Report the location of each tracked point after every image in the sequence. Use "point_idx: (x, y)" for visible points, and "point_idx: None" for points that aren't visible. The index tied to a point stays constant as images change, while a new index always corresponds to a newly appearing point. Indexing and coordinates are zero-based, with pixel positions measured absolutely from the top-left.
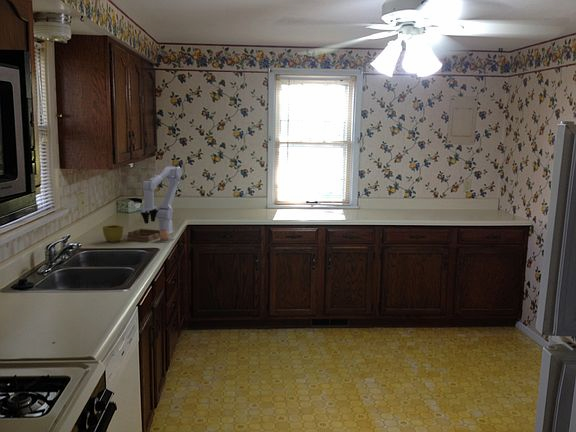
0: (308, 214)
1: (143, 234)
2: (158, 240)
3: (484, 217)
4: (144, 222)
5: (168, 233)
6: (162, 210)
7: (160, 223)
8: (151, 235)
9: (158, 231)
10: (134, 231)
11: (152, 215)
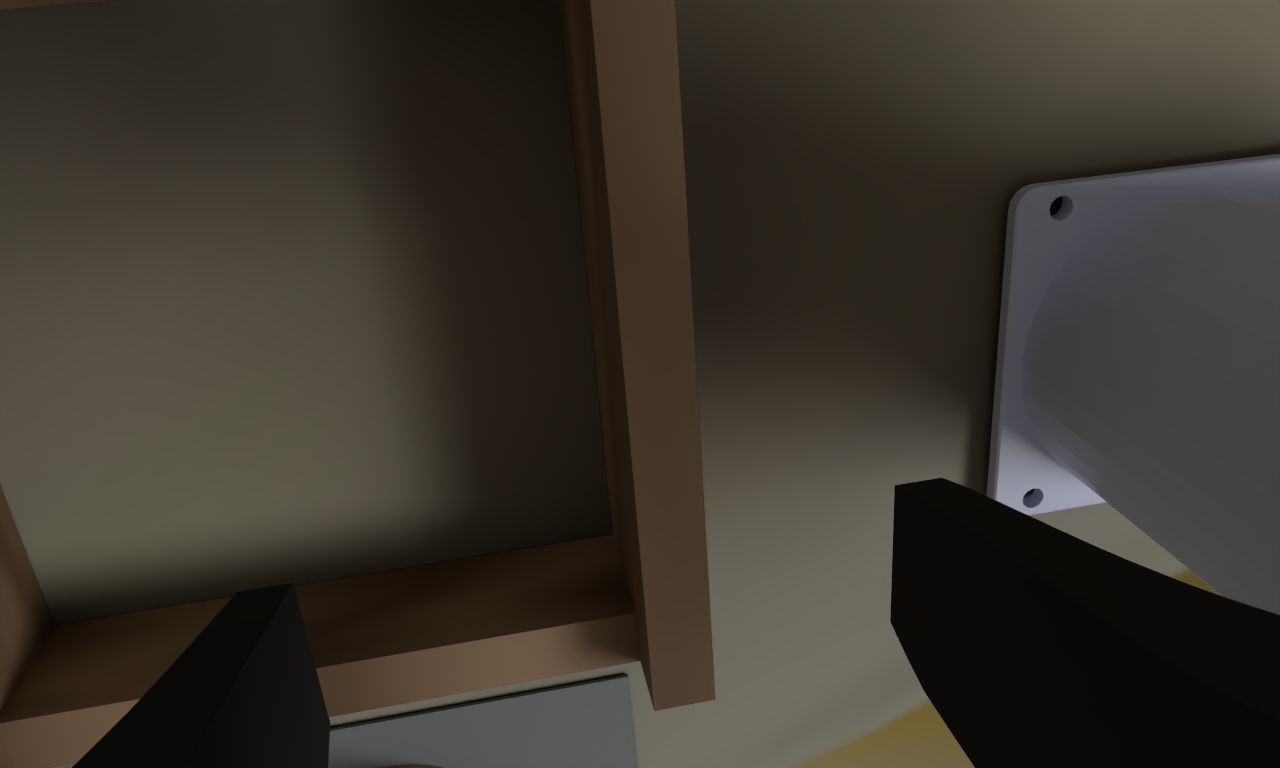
0: None
1: (572, 70)
2: None
3: None
4: (212, 620)
5: (1088, 498)
6: None
7: (1243, 475)
8: None
9: (645, 657)
10: (38, 5)
11: (1090, 760)
